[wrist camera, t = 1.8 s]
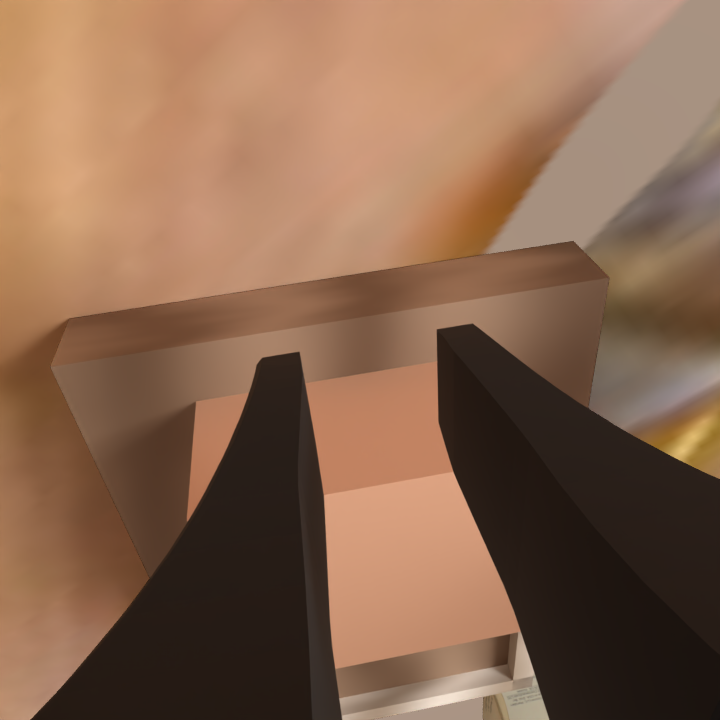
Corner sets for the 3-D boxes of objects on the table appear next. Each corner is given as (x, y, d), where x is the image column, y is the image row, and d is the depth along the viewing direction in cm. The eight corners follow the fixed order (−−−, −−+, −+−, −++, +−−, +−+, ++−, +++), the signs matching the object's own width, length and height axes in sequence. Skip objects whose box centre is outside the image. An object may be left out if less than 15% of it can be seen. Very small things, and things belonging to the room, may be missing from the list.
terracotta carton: (491, 352, 20) (548, 454, 16) (483, 521, 24) (526, 630, 21) (196, 401, 19) (186, 519, 15) (247, 566, 24) (250, 686, 20)
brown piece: (573, 241, 21) (622, 291, 18) (526, 621, 34) (551, 682, 31) (69, 318, 19) (43, 384, 17) (223, 681, 33) (222, 750, 30)
